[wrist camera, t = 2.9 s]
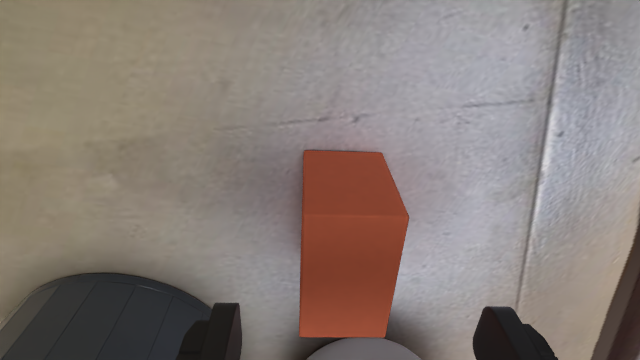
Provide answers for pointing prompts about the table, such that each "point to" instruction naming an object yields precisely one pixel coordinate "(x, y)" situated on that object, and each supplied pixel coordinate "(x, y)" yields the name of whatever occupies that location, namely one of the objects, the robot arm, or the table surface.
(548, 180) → the table surface
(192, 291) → the table surface
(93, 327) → the crock
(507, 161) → the table surface
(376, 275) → the sponge
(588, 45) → the table surface
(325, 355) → the pump dispenser
